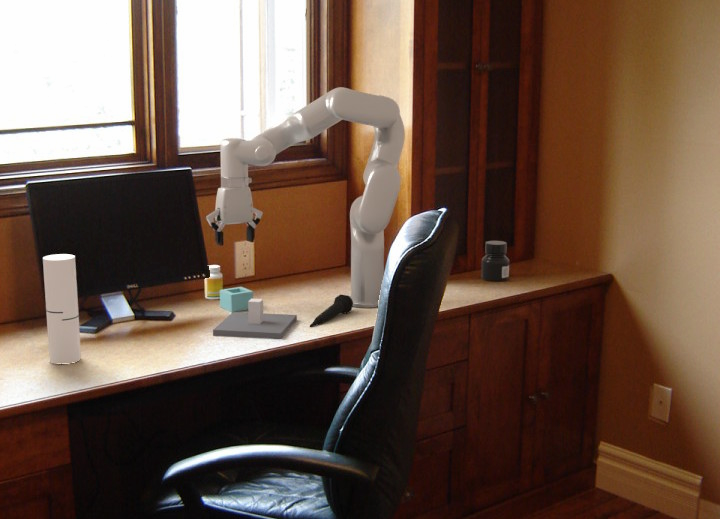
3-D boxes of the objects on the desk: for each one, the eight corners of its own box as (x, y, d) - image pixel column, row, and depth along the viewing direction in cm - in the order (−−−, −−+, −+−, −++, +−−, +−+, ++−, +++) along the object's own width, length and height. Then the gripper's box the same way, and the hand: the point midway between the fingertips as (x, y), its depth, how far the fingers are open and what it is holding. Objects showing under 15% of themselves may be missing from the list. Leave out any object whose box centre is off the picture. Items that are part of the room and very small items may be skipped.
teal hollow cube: (241, 303, 282) (241, 286, 280) (253, 308, 276) (253, 291, 275) (220, 306, 278) (219, 289, 277) (231, 312, 272) (231, 294, 271)
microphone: (317, 339, 258) (354, 313, 274) (321, 321, 255) (358, 296, 271) (300, 330, 260) (338, 305, 276) (304, 312, 257) (342, 288, 273)
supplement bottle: (201, 297, 288) (200, 265, 286) (217, 294, 292) (216, 263, 290) (210, 300, 284) (210, 269, 282) (226, 298, 288) (225, 266, 286)
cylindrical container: (53, 356, 232) (46, 254, 227) (83, 355, 233) (77, 253, 227) (46, 365, 225) (39, 260, 220) (77, 364, 226) (71, 260, 220)
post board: (296, 320, 264) (296, 293, 262) (280, 338, 247) (280, 310, 245) (233, 317, 267) (232, 290, 265) (213, 335, 249) (212, 307, 248)
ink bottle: (510, 282, 309) (511, 245, 306) (482, 282, 309) (484, 245, 306) (506, 275, 318) (507, 239, 316) (479, 275, 318) (480, 239, 316)
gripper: (255, 179, 277) (255, 238, 281) (200, 183, 268) (201, 244, 271) (268, 182, 271) (268, 242, 275) (212, 186, 262) (213, 248, 265)
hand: (235, 243), depth 273 cm, fingers open, 9 cm apart
